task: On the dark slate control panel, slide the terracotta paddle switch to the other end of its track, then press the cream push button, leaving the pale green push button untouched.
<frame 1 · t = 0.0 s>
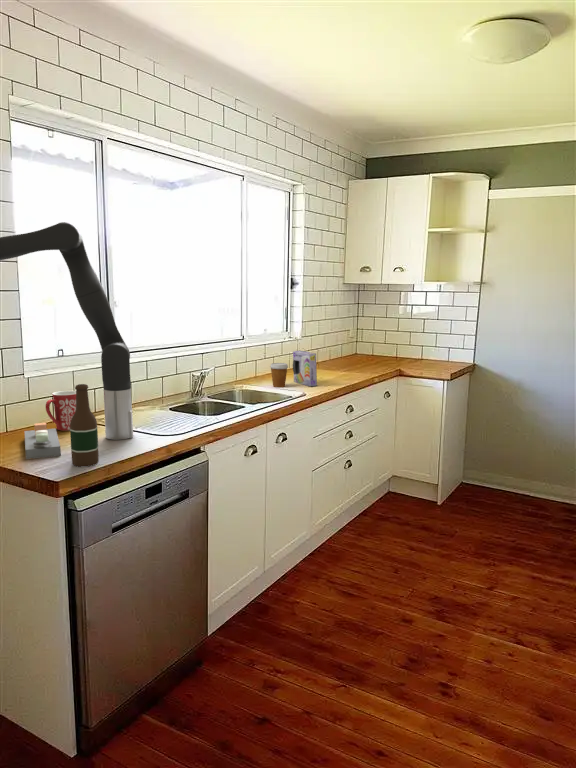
cream push button: (41, 434, 188), point 6 cm above the worktop, slide at 0.0 cm
green push button: (42, 437, 184), point 6 cm above the worktop, slide at 0.0 cm
cake pan box: (304, 384, 320), on the worktop
beer bottle: (85, 463, 177), on the worktop
control panel: (42, 447, 194), on the worktop
mug: (63, 429, 218), on the worktop
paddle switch: (40, 429, 197), point 5 cm above the worktop, slide at 0.0 cm
disposable coffee cup: (279, 386, 312), on the worktop
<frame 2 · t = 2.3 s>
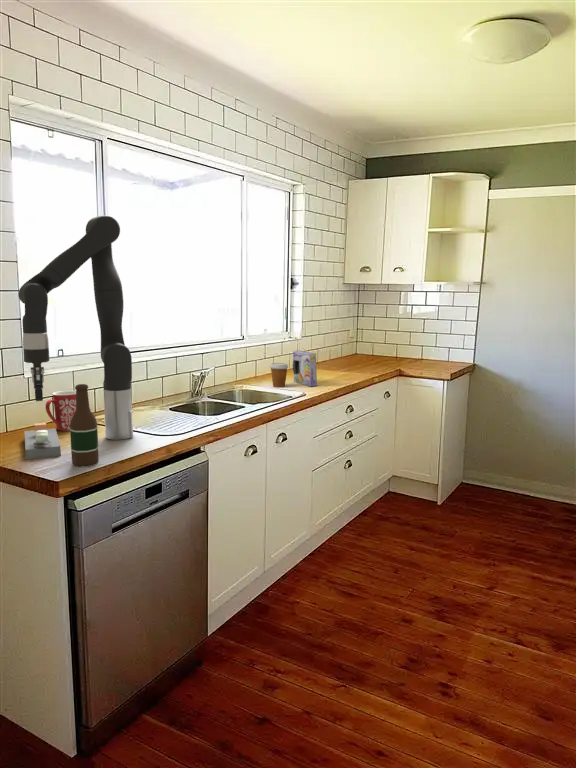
hand: (39, 400, 190), 16 cm above the worktop, tool pointing down, fingers closed
nothing on the worktop moved.
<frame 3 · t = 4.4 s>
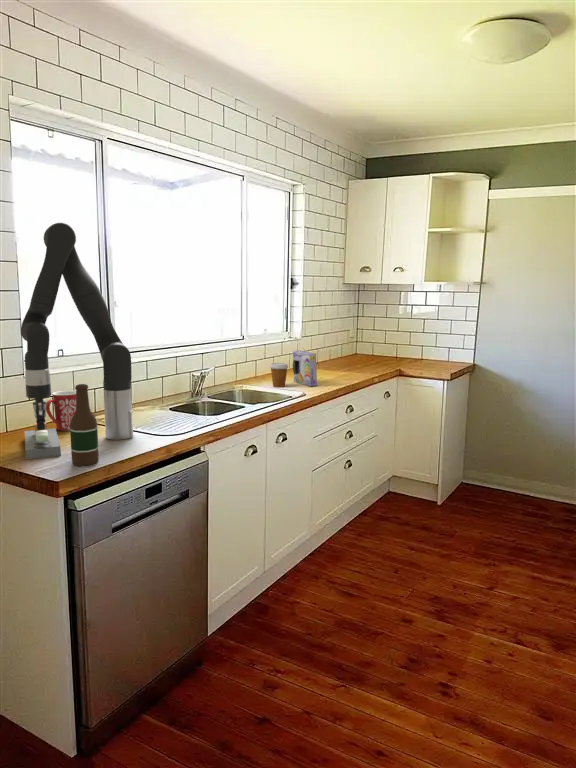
hand: (41, 434, 195), 4 cm above the worktop, tool pointing down, fingers closed
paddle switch: (40, 428, 198), point 5 cm above the worktop, slide at 1.2 cm, touching gripper
everything else where it was.
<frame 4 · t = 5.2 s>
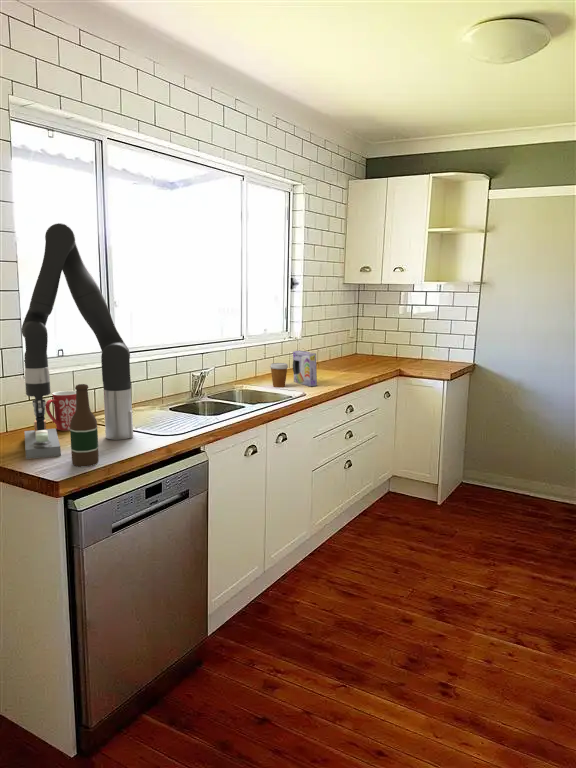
hand: (40, 431, 199), 4 cm above the worktop, tool pointing down, fingers closed
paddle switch: (40, 425, 202), point 5 cm above the worktop, slide at 5.1 cm, touching gripper
everything else where it was.
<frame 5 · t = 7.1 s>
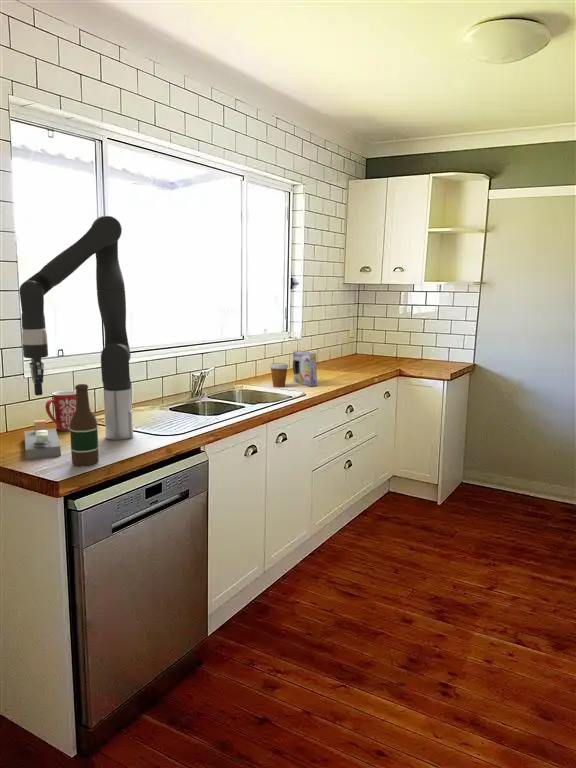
hand: (38, 394, 195), 17 cm above the worktop, tool pointing down, fingers closed
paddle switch: (40, 425, 202), point 5 cm above the worktop, slide at 5.1 cm
everything else where it was.
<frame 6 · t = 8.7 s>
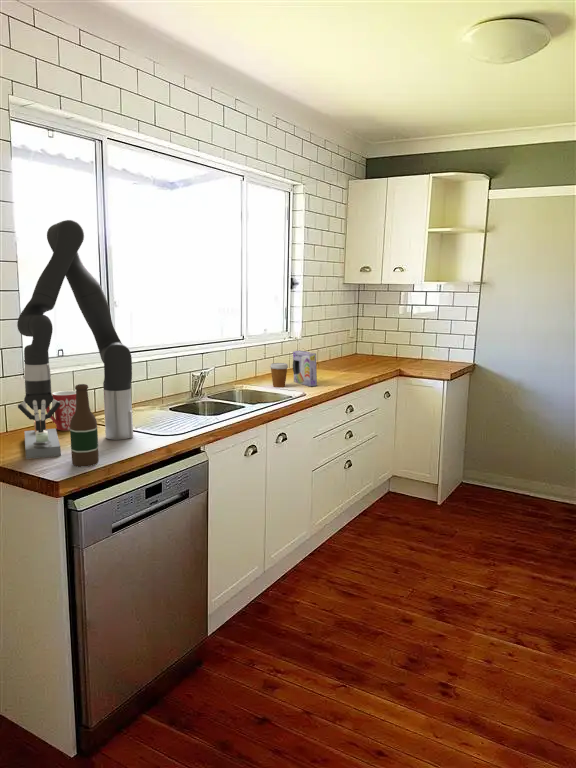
hand: (40, 431, 188), 7 cm above the worktop, tool pointing down, fingers closed
cream push button: (41, 434, 188), point 6 cm above the worktop, slide at 0.2 cm, touching gripper
everything else where it was.
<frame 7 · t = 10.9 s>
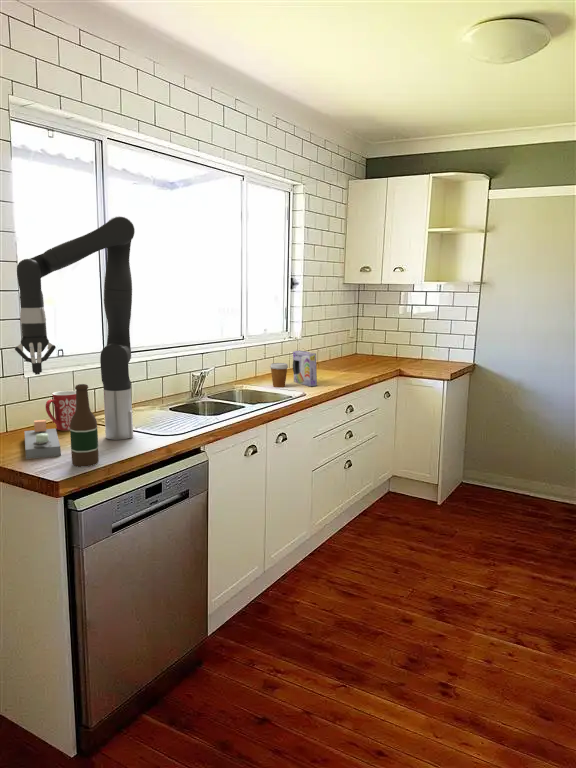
hand: (37, 374, 195), 24 cm above the worktop, tool pointing down, fingers closed
cream push button: (42, 439, 188), point 4 cm above the worktop, slide at 1.6 cm
everything else where it was.
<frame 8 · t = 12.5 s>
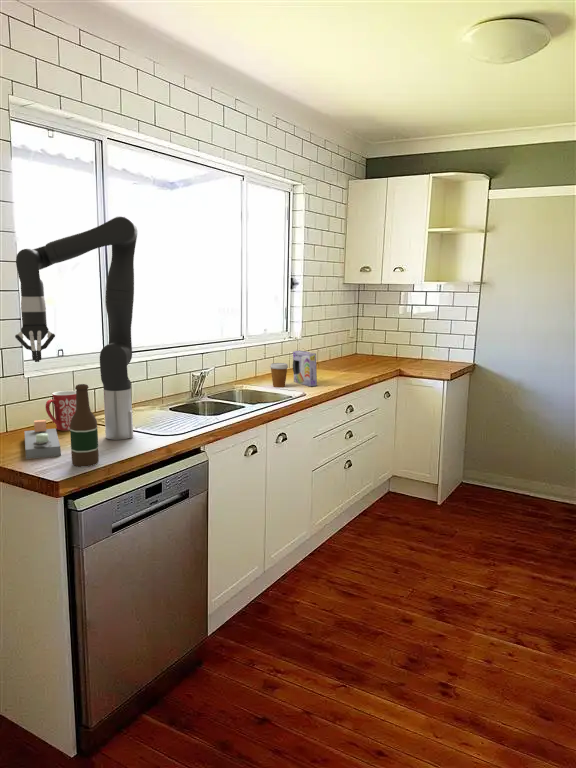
hand: (36, 361, 200), 27 cm above the worktop, tool pointing down, fingers closed
nothing on the worktop moved.
at the end: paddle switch slide at 5.1 cm; cream push button slide at 1.6 cm; green push button slide at 0.0 cm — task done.
